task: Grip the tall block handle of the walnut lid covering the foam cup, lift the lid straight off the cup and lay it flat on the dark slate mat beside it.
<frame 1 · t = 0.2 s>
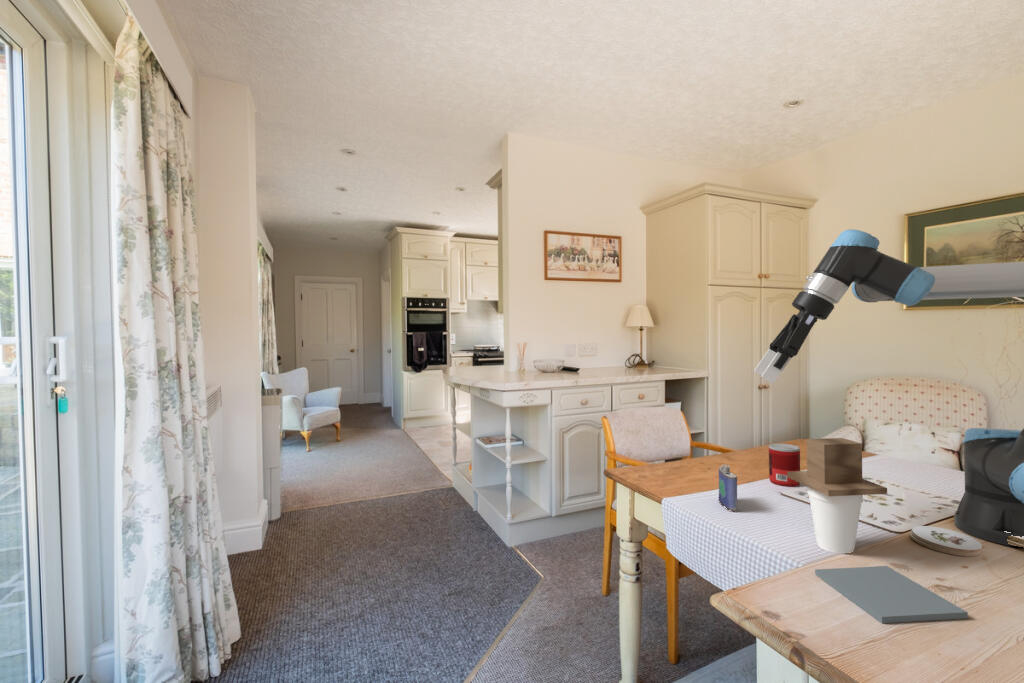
hand: (762, 377, 104), 35 cm above the table, tool tilted 30°, fingers open, 13 cm apart
flask: (727, 506, 116), on the table
canned food: (784, 483, 133), on the table
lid: (834, 485, 93), point 13 cm above the table, touching foam cup
mat: (884, 594, 76), on the table
foam cup: (835, 547, 93), on the table, touching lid
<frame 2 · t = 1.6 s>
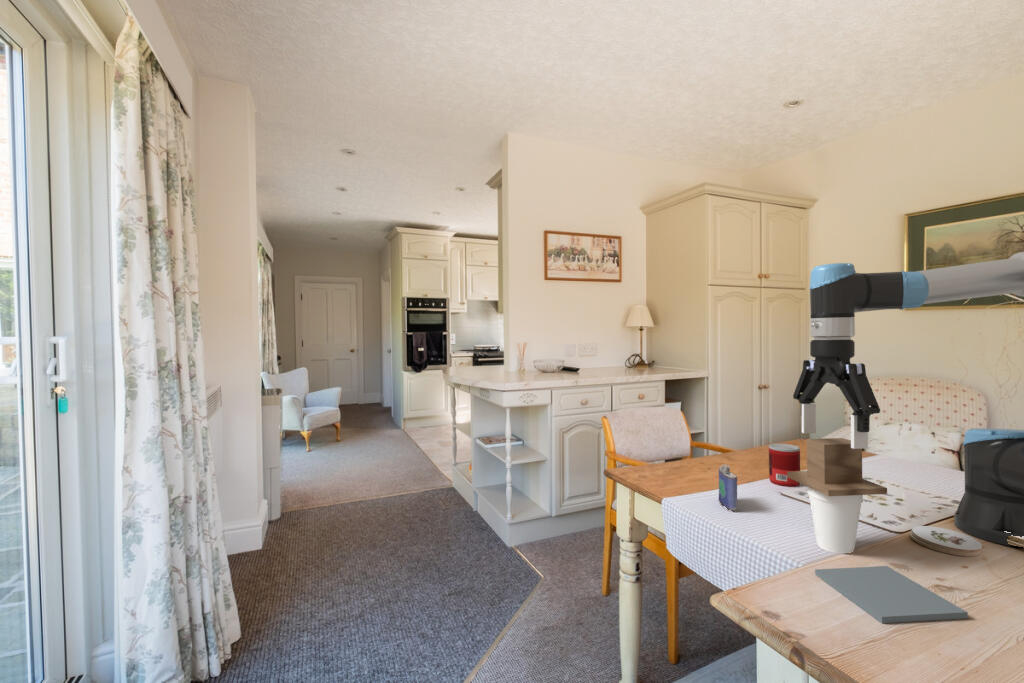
hand: (832, 440, 93), 22 cm above the table, tool pointing down, fingers open, 13 cm apart
nothing on the table moved.
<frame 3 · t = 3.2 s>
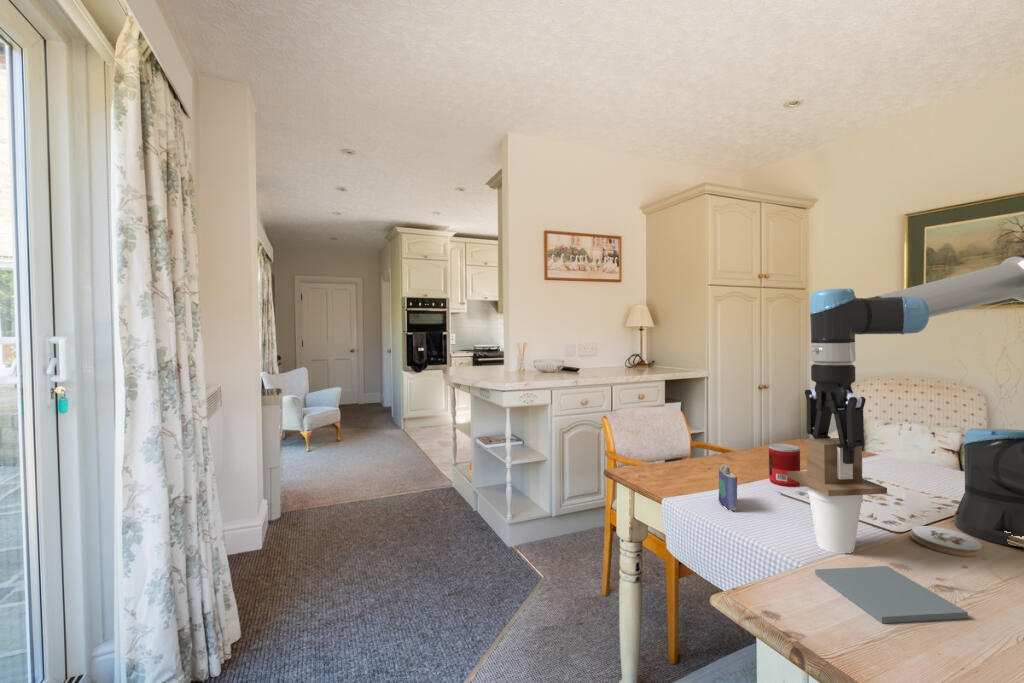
hand: (834, 474, 93), 15 cm above the table, tool pointing down, fingers closed on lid, 5 cm apart
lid: (834, 484, 93), point 13 cm above the table, touching foam cup, gripper
everything else where it was.
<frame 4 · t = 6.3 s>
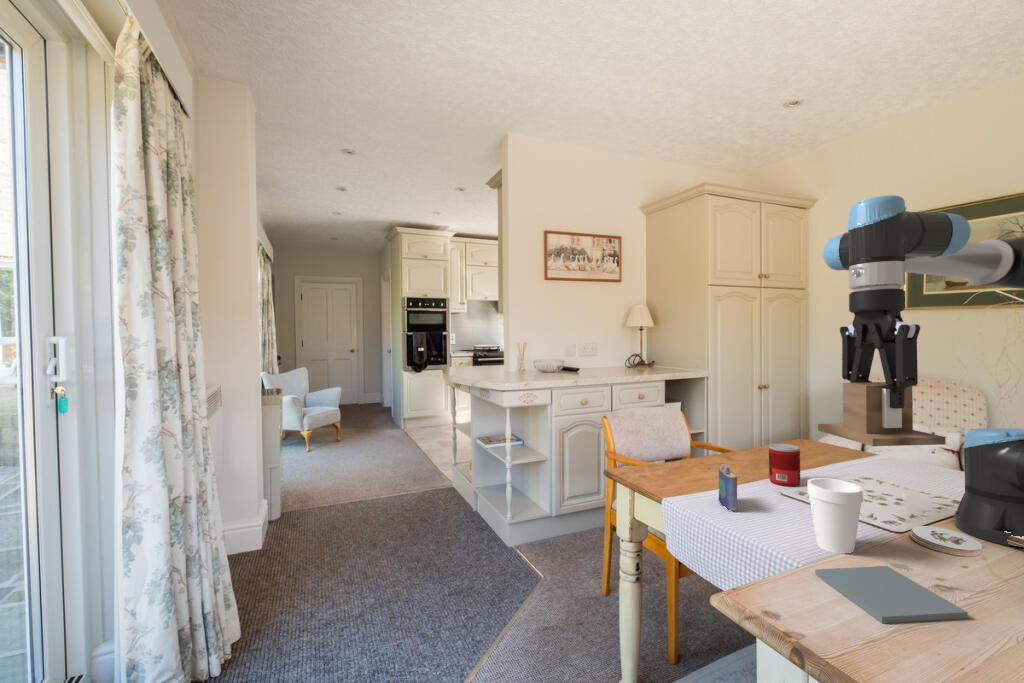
hand: (877, 423, 77), 29 cm above the table, tool pointing down, fingers closed on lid, 5 cm apart
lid: (876, 436, 77), point 27 cm above the table, touching gripper
foam cup: (835, 547, 93), on the table
everything else where it was.
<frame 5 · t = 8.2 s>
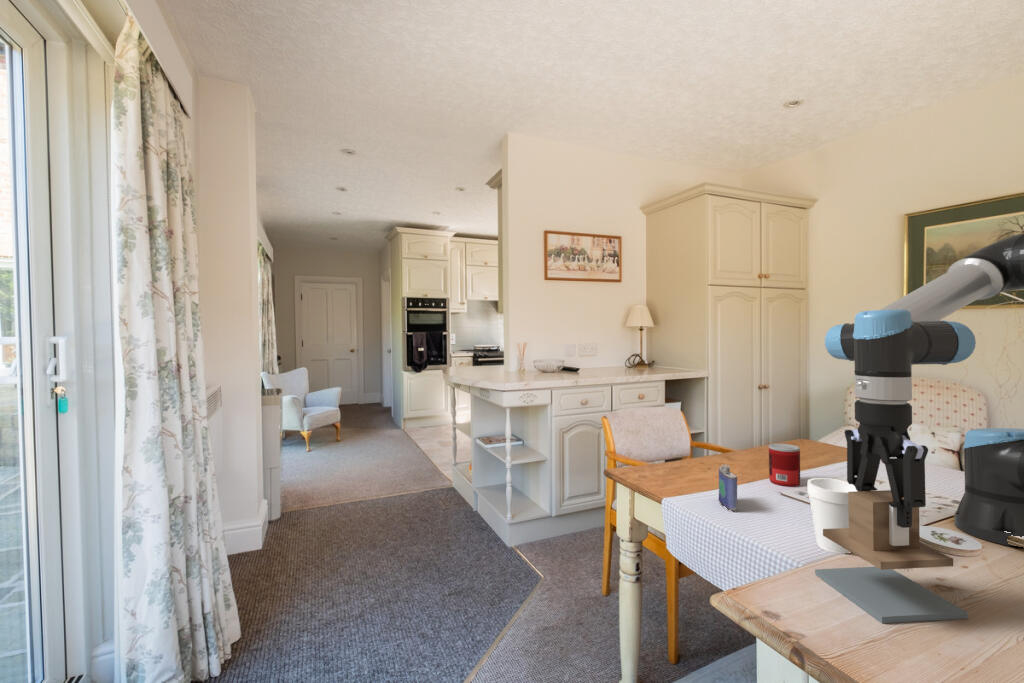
hand: (883, 536, 76), 10 cm above the table, tool pointing down, fingers closed on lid, 5 cm apart
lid: (883, 549, 76), point 8 cm above the table, touching gripper
everything else where it was.
when the fingers open (5 cm above the table, at t = 9.7 s): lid drops 1 cm, resting on mat.
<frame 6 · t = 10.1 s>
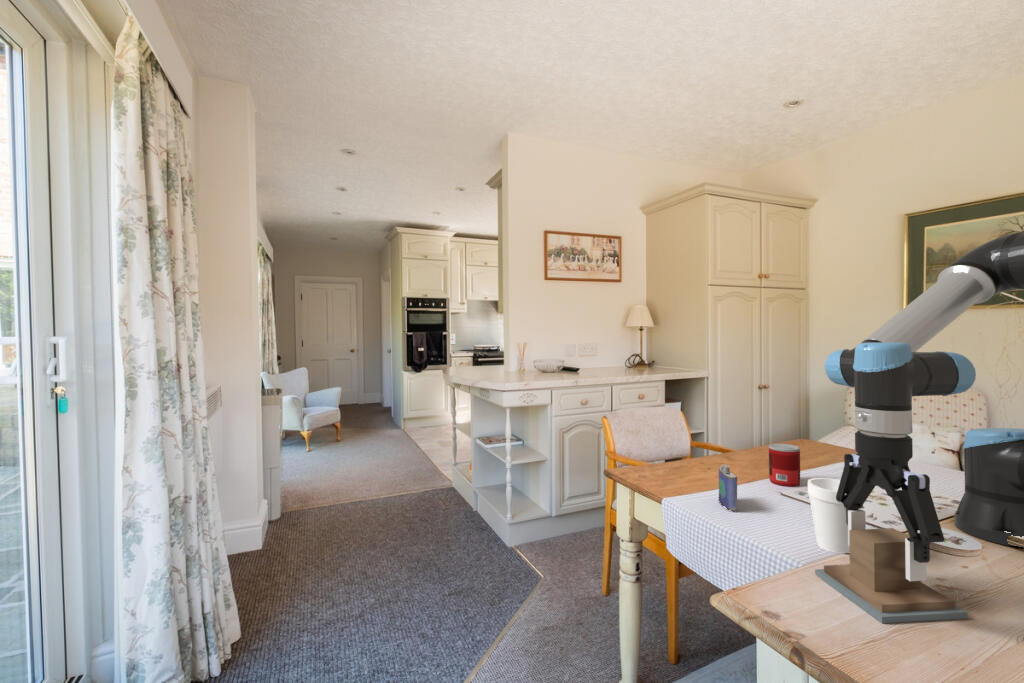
hand: (884, 561, 76), 6 cm above the table, tool pointing down, fingers open, 10 cm apart
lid: (884, 588, 76), point 1 cm above the table, touching mat
everything else where it was.
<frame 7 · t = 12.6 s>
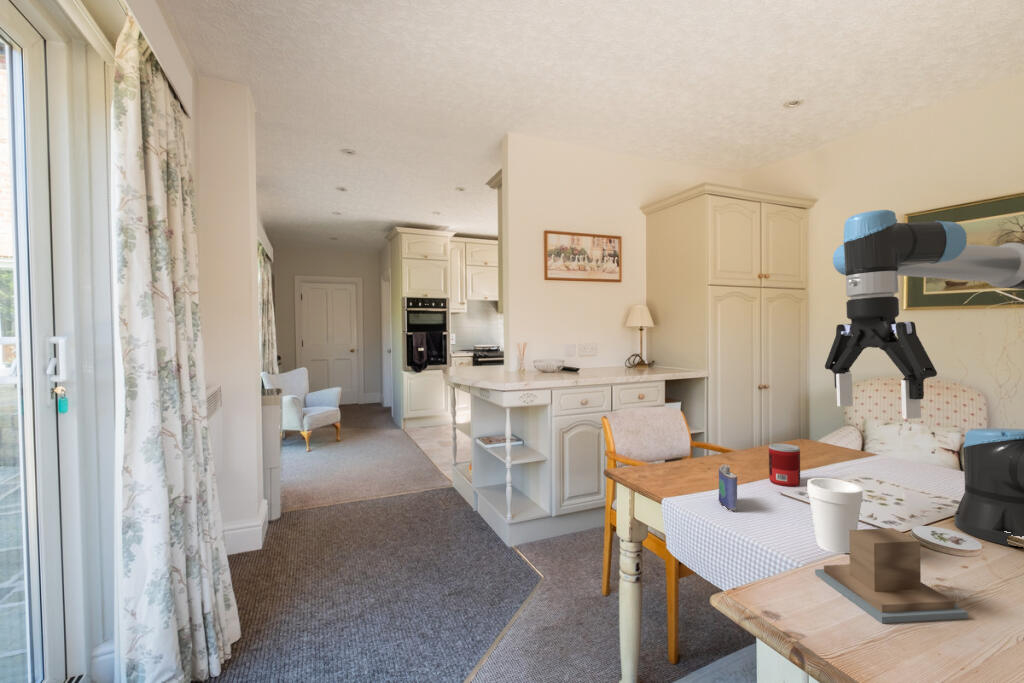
hand: (875, 411, 82), 30 cm above the table, tool pointing down, fingers open, 13 cm apart
nothing on the table moved.
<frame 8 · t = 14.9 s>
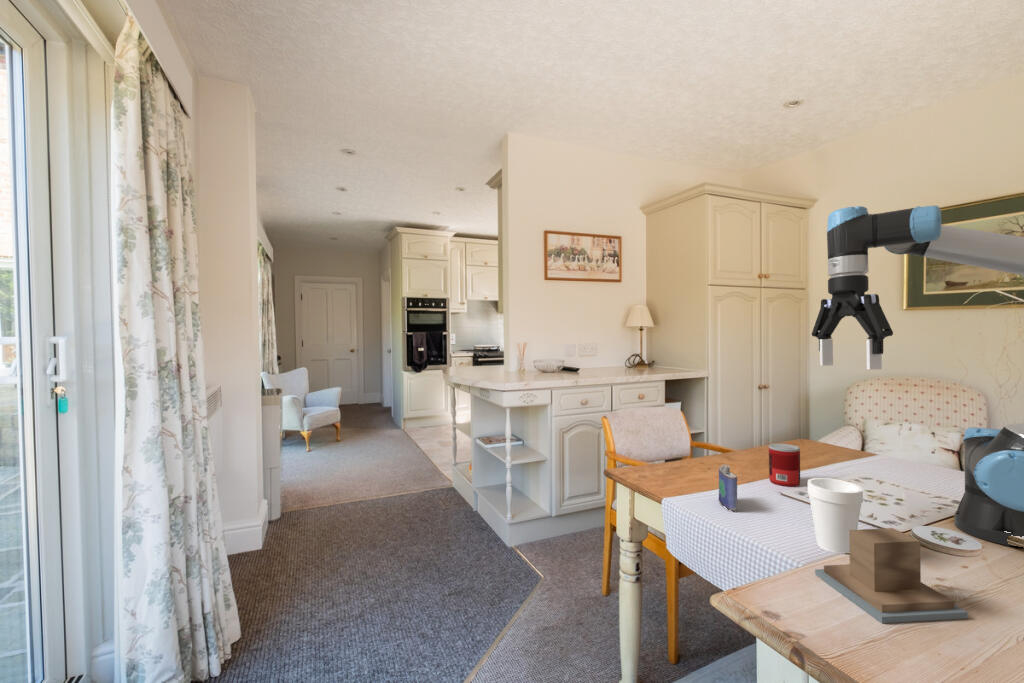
hand: (848, 367, 103), 37 cm above the table, tool pointing down, fingers open, 13 cm apart
nothing on the table moved.
at the end: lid inside the target area on the mat (0.1 cm from its centre), point 1.0 cm above the mat's base; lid touching mat; foam cup tilted 0° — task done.
